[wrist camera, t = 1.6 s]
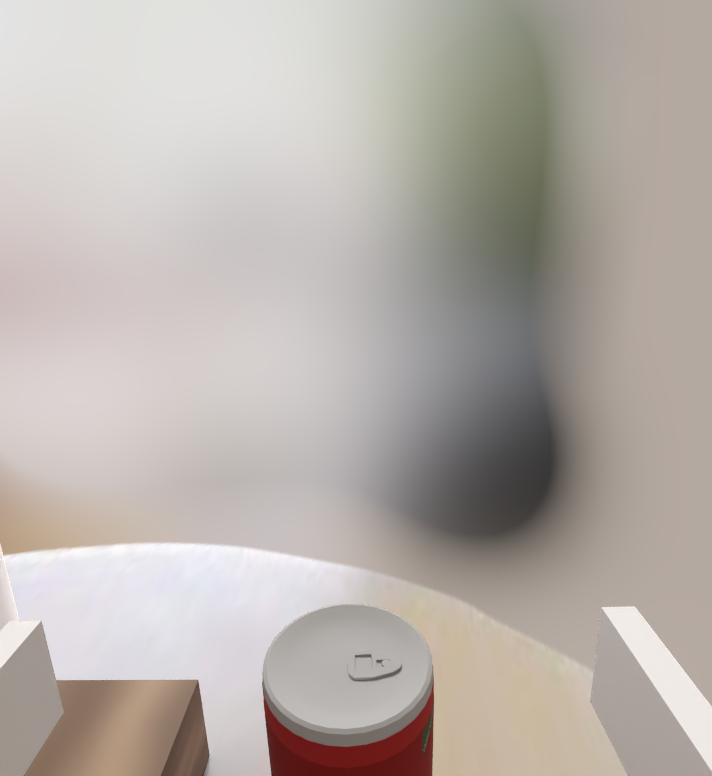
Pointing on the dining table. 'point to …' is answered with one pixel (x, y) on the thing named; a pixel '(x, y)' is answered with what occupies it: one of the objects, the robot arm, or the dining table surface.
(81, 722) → the walnut box
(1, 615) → the bottle
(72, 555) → the dining table surface
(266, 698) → the canned food
